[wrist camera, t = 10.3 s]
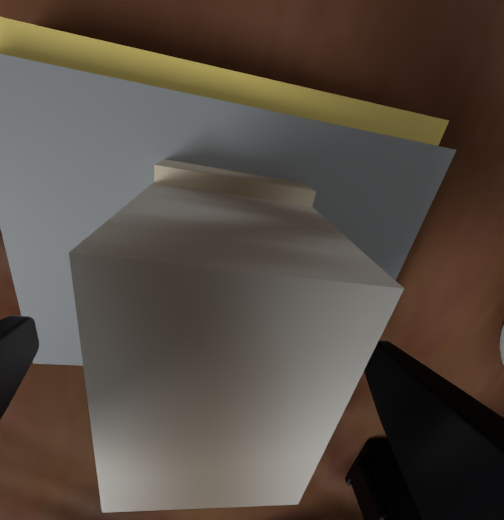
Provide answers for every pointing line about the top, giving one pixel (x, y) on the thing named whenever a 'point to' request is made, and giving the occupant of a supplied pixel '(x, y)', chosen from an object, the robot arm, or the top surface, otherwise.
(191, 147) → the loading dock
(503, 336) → the air freshener
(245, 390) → the white milk carton
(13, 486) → the top surface
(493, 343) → the top surface
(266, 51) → the top surface
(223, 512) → the top surface
